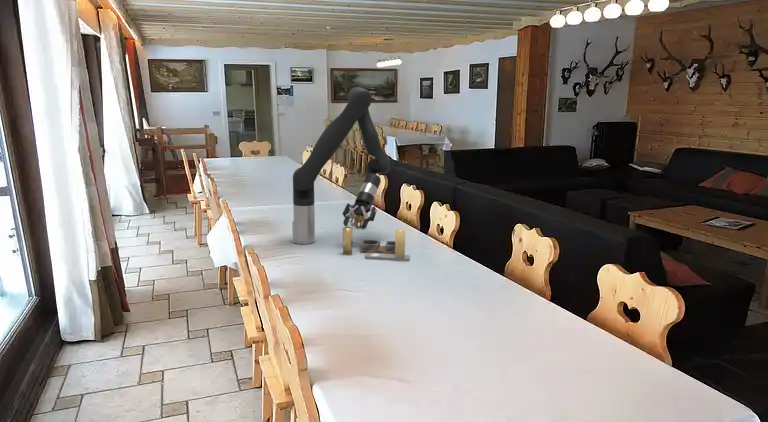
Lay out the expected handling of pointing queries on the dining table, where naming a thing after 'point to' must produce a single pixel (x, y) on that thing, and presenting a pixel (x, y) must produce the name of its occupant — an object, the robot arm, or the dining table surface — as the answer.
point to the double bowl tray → (377, 247)
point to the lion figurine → (357, 220)
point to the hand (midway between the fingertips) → (353, 226)
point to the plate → (387, 257)
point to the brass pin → (347, 240)
